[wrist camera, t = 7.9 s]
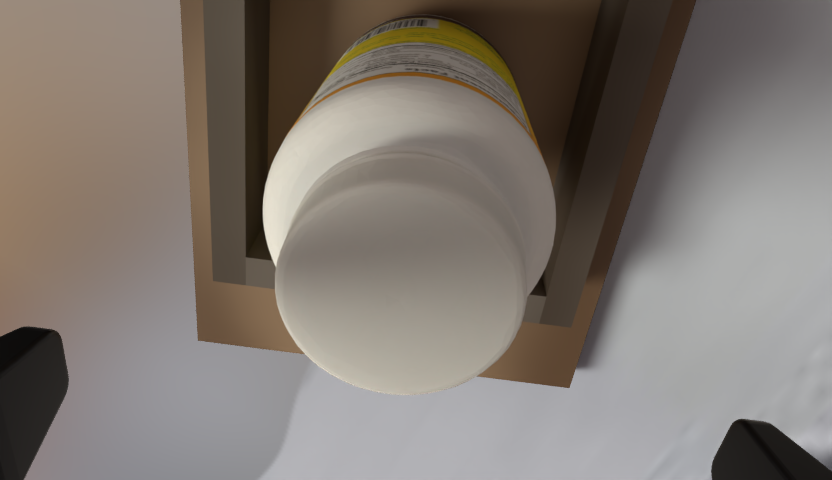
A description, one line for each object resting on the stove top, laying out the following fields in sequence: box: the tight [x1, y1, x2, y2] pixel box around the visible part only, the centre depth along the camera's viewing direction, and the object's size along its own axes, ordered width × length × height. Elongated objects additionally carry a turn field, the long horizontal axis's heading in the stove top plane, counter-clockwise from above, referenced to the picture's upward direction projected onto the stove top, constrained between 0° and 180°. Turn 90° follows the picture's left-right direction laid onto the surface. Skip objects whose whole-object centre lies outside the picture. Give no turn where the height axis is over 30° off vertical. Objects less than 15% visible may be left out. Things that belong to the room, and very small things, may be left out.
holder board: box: [180, 0, 696, 388], centre depth 18 cm, size 14×20×4 cm
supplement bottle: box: [263, 14, 556, 395], centre depth 14 cm, size 6×6×10 cm
